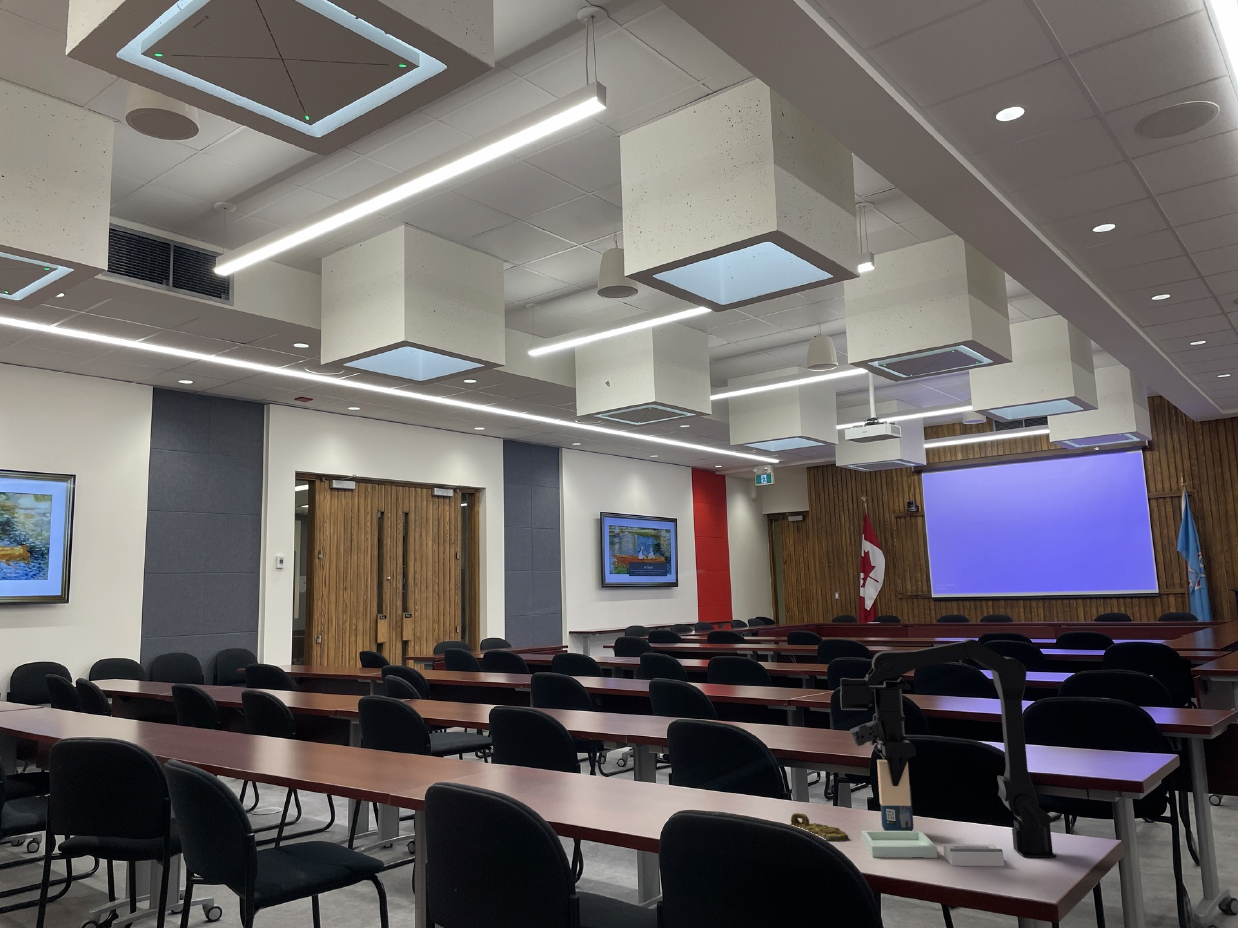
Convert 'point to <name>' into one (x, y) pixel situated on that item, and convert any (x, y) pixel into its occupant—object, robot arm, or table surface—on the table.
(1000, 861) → the dispenser
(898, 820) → the soda can
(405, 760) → the table surface
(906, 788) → the tan cardboard block
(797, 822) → the seal
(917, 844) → the tray
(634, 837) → the table surface
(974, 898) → the table surface
